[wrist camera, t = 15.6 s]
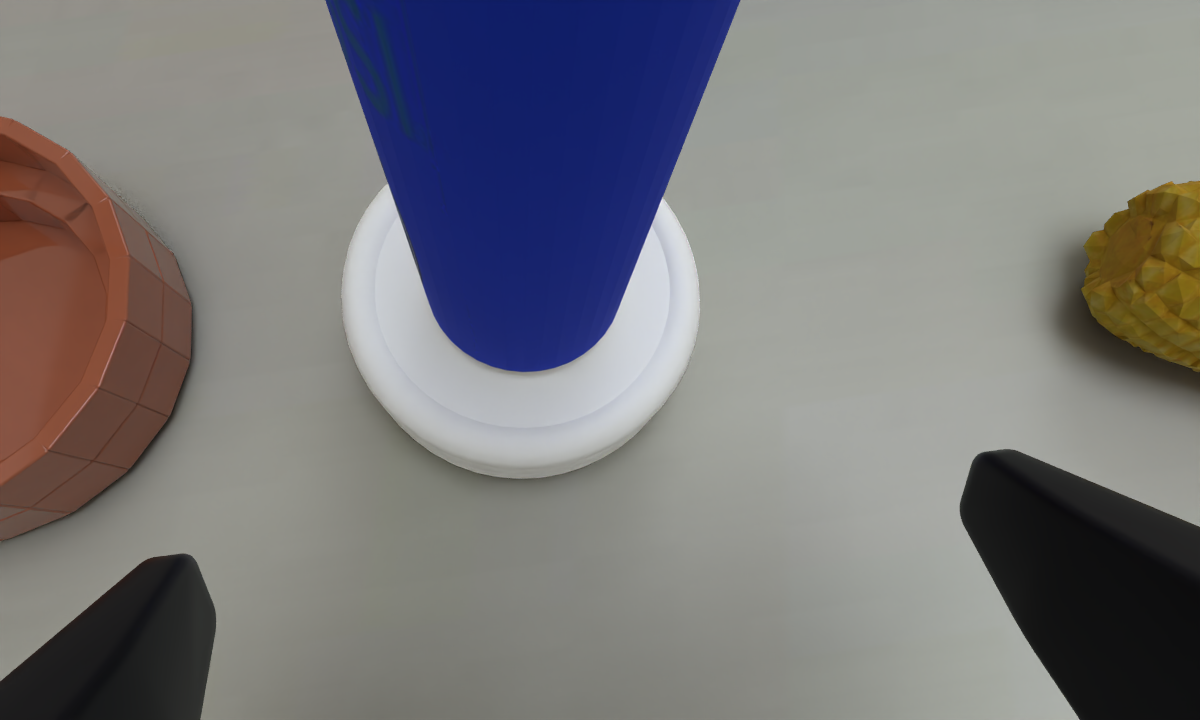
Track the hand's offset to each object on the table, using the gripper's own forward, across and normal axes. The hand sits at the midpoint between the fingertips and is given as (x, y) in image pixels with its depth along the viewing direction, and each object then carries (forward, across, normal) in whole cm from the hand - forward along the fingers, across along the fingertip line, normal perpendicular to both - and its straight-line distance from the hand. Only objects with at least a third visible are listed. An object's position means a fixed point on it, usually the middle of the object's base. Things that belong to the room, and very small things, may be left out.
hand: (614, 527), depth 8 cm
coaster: (+15, 0, +5) cm, 16 cm away
